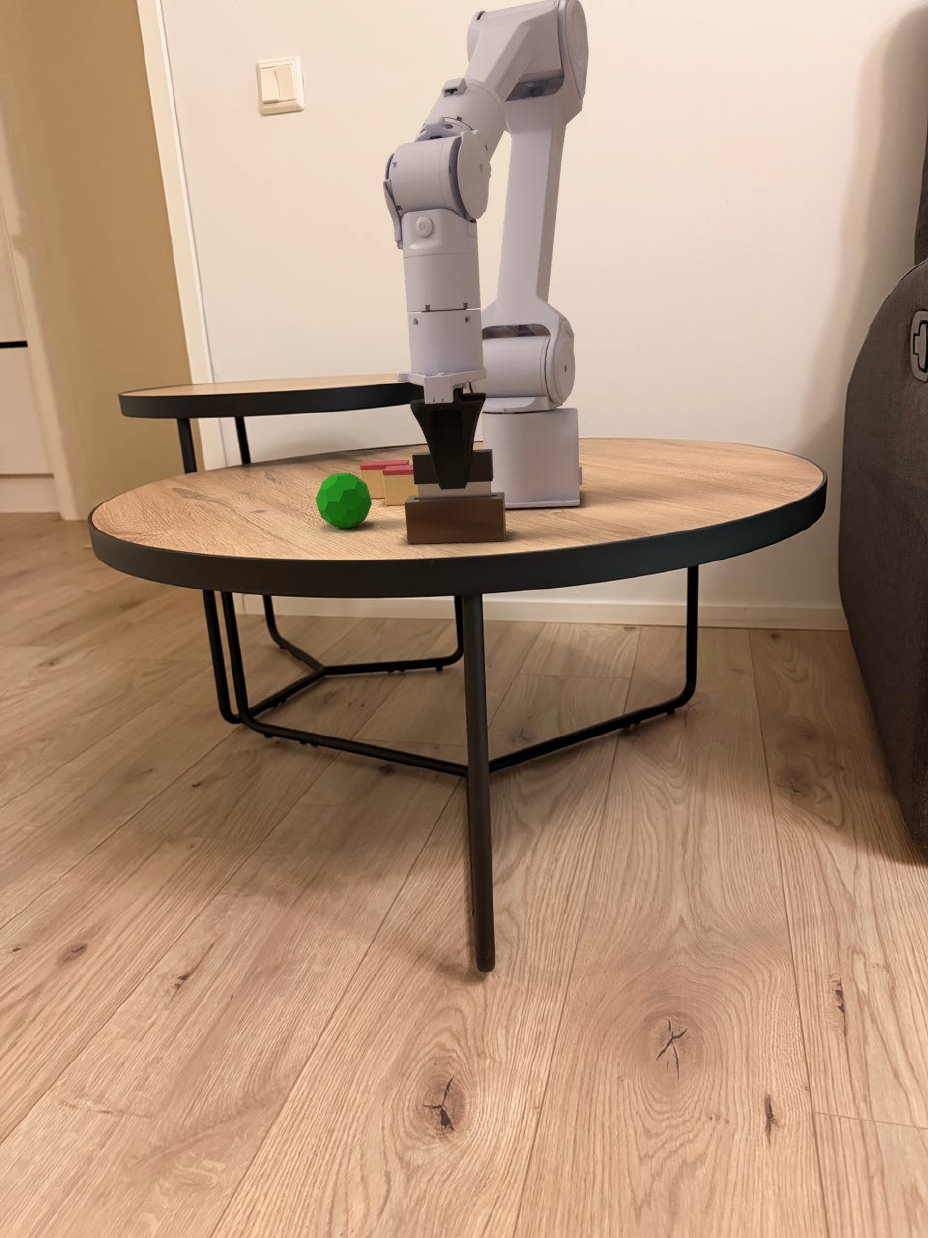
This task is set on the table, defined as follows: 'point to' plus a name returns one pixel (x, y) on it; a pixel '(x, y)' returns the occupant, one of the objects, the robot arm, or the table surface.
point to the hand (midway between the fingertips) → (454, 486)
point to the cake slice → (377, 475)
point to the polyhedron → (343, 500)
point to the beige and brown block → (475, 487)
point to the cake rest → (399, 484)
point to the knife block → (455, 519)
